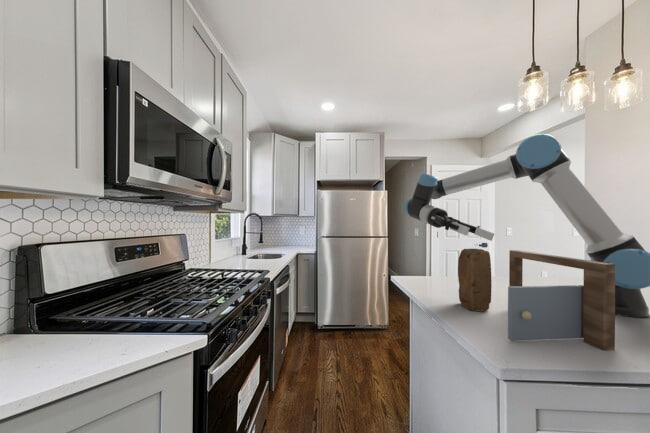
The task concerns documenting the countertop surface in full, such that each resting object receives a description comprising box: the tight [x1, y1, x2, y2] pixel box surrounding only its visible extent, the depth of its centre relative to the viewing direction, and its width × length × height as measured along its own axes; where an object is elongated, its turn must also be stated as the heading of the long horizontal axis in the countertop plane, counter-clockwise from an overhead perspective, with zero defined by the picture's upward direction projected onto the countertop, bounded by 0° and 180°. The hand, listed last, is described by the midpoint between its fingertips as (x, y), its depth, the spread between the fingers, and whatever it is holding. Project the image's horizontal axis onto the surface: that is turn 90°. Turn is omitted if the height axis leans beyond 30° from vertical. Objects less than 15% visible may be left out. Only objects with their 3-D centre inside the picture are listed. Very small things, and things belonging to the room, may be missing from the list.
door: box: [507, 284, 584, 342], centre depth 68 cm, size 21×3×13 cm, turn 96°
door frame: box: [508, 249, 616, 351], centre depth 78 cm, size 3×28×20 cm, turn 6°
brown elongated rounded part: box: [457, 248, 492, 312], centre depth 95 cm, size 11×8×20 cm
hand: (480, 234), depth 93 cm, fingers open, 13 cm apart
